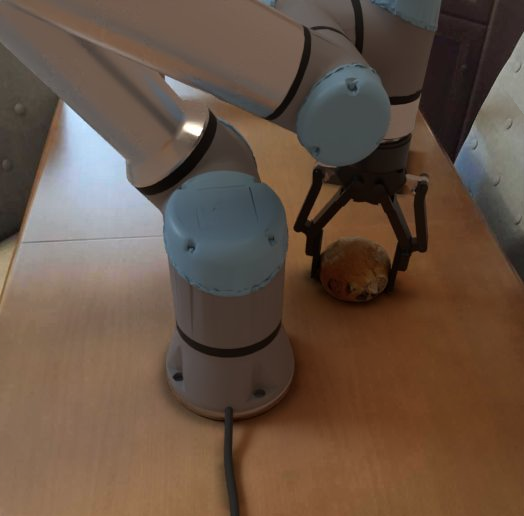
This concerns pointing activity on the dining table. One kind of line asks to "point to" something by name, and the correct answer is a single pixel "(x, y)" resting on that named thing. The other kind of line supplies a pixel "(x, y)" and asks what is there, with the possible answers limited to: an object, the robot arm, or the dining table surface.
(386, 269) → the bread roll
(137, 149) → the robot arm
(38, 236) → the dining table surface
